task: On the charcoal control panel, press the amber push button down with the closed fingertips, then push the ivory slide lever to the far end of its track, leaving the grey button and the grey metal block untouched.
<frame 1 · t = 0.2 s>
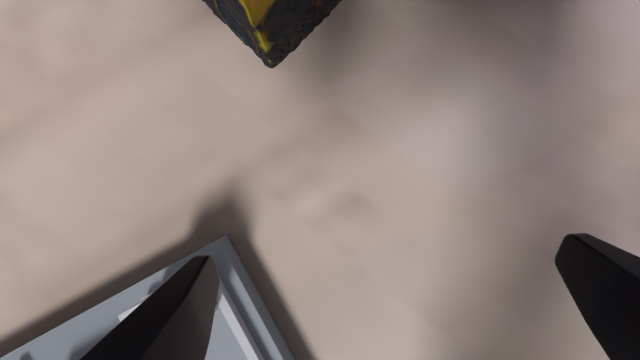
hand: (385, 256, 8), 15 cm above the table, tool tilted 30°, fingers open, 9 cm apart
grey metal block: (173, 311, 18), point 4 cm above the table, slide at 7.5 cm
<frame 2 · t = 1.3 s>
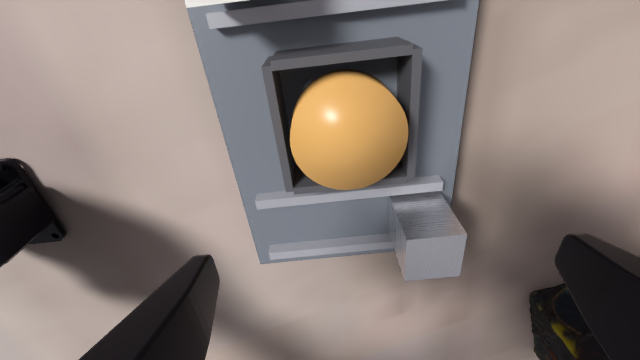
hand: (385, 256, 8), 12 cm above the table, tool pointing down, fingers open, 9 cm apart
control panel: (333, 34, 16), on the table
grey metal block: (422, 233, 18), point 4 cm above the table, slide at 7.5 cm
black and yellow box: (583, 307, 29), on the table
button amber: (346, 131, 14), point 5 cm above the table, slide at 0.0 cm
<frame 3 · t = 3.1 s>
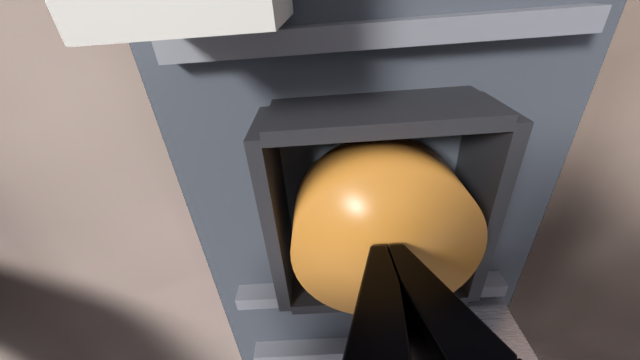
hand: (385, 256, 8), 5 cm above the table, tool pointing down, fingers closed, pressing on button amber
control panel: (362, 70, 11), on the table
grey metal block: (475, 359, 12), point 4 cm above the table, slide at 7.5 cm
button amber: (380, 230, 9), point 4 cm above the table, slide at 0.5 cm, touching gripper
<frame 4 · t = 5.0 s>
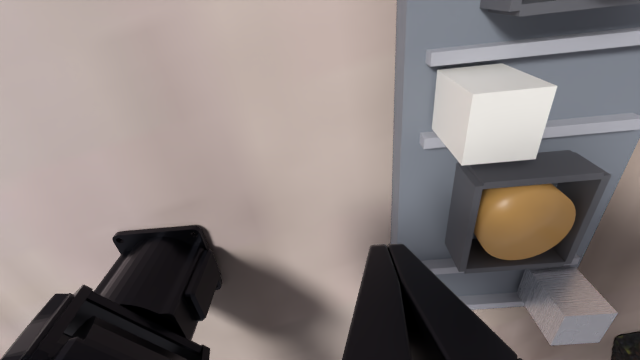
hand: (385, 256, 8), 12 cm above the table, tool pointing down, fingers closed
control panel: (499, 136, 19), on the table
lever ivory: (482, 111, 14), point 4 cm above the table, slide at 0.0 cm
grey metal block: (561, 301, 21), point 4 cm above the table, slide at 7.5 cm
button amber: (516, 216, 18), point 3 cm above the table, slide at 1.4 cm
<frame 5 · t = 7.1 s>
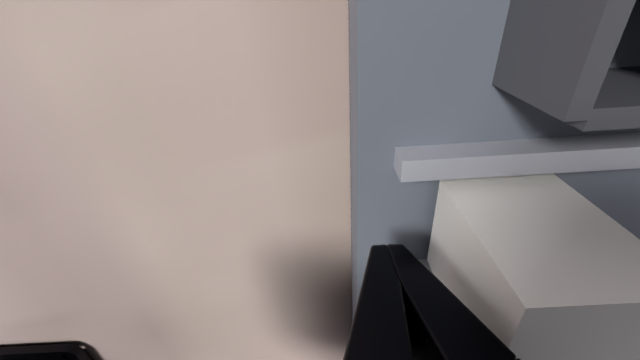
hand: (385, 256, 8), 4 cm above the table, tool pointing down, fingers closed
control panel: (508, 247, 13), on the table
lever ivory: (523, 272, 7), point 4 cm above the table, slide at 0.7 cm, touching gripper
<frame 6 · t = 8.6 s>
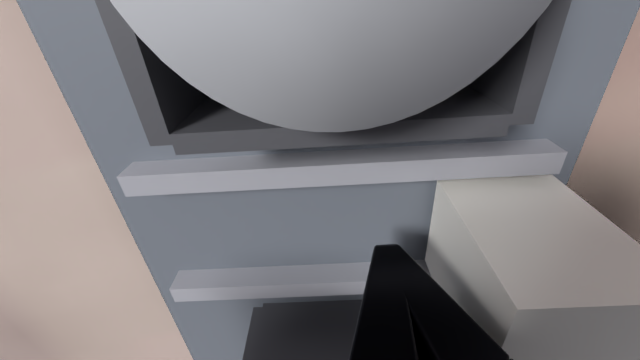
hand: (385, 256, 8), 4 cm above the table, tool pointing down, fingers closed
control panel: (338, 256, 13), on the table
lever ivory: (519, 273, 7), point 4 cm above the table, slide at 7.7 cm, touching gripper
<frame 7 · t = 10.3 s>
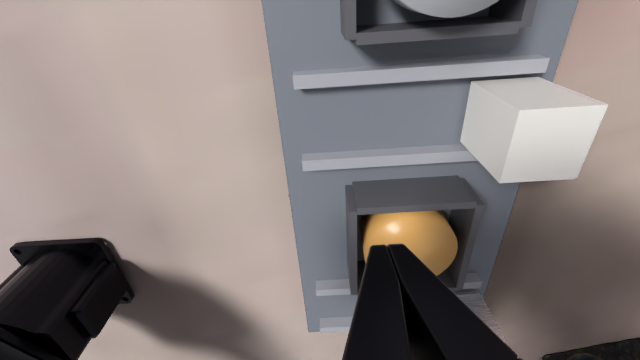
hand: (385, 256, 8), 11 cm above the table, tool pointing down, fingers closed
control panel: (396, 158, 19), on the table
lever ivory: (520, 126, 13), point 4 cm above the table, slide at 7.6 cm
grey metal block: (461, 326, 21), point 4 cm above the table, slide at 7.5 cm
button amber: (406, 240, 18), point 3 cm above the table, slide at 1.4 cm
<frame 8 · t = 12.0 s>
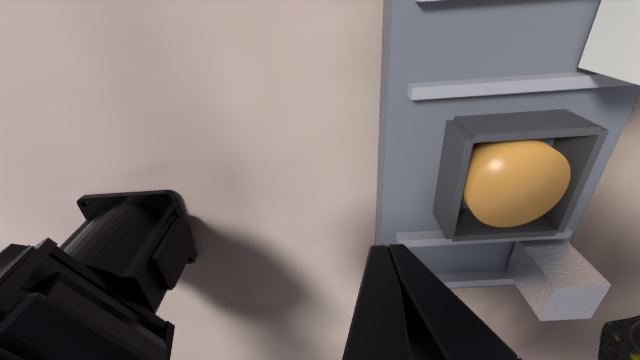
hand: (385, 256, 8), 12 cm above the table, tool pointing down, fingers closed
control panel: (492, 97, 18), on the table
grey metal block: (551, 276, 20), point 4 cm above the table, slide at 7.5 cm
button amber: (508, 179, 17), point 3 cm above the table, slide at 1.4 cm
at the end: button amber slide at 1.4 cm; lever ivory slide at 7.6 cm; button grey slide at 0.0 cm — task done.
